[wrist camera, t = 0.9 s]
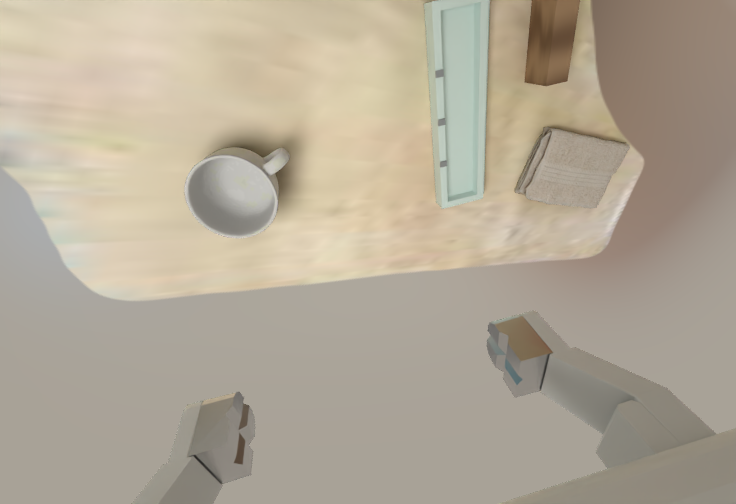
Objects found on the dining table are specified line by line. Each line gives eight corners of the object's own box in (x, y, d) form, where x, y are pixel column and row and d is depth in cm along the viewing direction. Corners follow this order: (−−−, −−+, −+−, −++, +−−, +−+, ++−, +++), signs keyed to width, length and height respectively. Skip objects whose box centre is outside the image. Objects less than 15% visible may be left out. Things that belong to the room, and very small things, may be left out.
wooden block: (532, -15, 41) (559, -21, 37) (555, -20, 41) (585, -26, 37) (523, 82, 47) (546, 86, 43) (544, 77, 47) (568, 80, 43)
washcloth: (538, 123, 52) (551, 128, 49) (624, 140, 56) (640, 144, 54) (508, 194, 58) (518, 201, 55) (588, 203, 62) (601, 210, 60)
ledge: (424, 3, 40) (432, 1, 37) (486, -10, 40) (498, -13, 38) (436, 202, 55) (442, 209, 52) (481, 190, 55) (489, 197, 53)
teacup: (231, 224, 50) (222, 252, 43) (180, 161, 44) (161, 183, 37) (312, 183, 49) (316, 205, 42) (272, 113, 43) (268, 126, 36)
